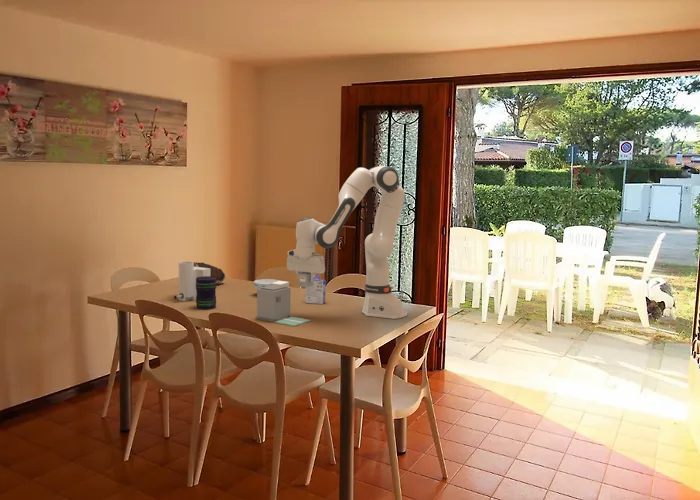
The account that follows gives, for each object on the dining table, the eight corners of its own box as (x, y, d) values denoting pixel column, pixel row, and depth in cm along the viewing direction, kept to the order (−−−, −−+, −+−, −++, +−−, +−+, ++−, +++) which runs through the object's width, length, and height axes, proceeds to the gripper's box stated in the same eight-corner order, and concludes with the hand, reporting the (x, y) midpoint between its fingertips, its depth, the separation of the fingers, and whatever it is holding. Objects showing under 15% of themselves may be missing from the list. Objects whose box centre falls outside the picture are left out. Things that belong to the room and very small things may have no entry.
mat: (310, 321, 274) (310, 319, 274) (294, 326, 264) (294, 325, 264) (291, 317, 280) (291, 316, 280) (275, 322, 270) (275, 321, 270)
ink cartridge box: (325, 302, 316) (326, 275, 314) (323, 304, 311) (323, 276, 309) (307, 301, 318) (308, 274, 316) (304, 303, 313) (305, 275, 311)
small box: (278, 305, 305) (278, 280, 304) (289, 307, 303) (289, 281, 301) (270, 308, 298) (270, 283, 296) (281, 310, 295) (281, 284, 294)
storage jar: (220, 307, 298) (220, 277, 297) (205, 310, 290) (205, 280, 289) (206, 304, 304) (206, 275, 302) (191, 307, 296) (191, 278, 294)
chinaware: (248, 294, 331) (248, 280, 330) (271, 291, 341) (271, 278, 340) (263, 299, 320) (263, 285, 319) (286, 295, 330) (286, 282, 329)
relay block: (313, 285, 284) (313, 272, 283) (306, 287, 279) (306, 273, 279) (304, 284, 286) (304, 271, 286) (298, 286, 282) (298, 272, 281)
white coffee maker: (211, 298, 319) (210, 261, 317) (187, 304, 302) (187, 265, 300) (186, 295, 326) (186, 258, 323) (162, 301, 309) (162, 263, 307)
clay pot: (233, 264, 359) (200, 261, 339) (232, 290, 358) (198, 288, 338) (216, 265, 368) (183, 261, 348) (215, 290, 367) (182, 288, 347)
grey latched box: (291, 316, 282) (292, 286, 280) (274, 322, 271) (274, 290, 269) (273, 313, 288) (273, 283, 286) (255, 318, 277) (255, 287, 275)
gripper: (327, 253, 278) (327, 282, 280) (292, 250, 289) (293, 278, 291) (319, 254, 273) (320, 284, 275) (284, 251, 284) (285, 280, 285)
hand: (305, 281), depth 283 cm, fingers closed on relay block, 5 cm apart
